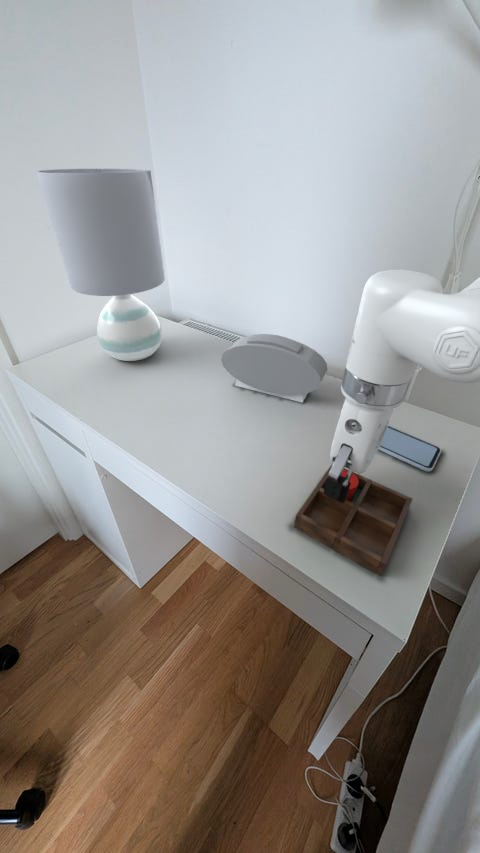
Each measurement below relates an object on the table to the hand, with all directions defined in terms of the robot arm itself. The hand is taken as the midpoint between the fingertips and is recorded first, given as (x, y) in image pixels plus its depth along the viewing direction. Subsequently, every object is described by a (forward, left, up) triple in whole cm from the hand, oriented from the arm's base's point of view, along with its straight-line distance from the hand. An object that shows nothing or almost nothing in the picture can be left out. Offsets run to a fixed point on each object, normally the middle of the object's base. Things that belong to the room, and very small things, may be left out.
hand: (345, 478), depth 52 cm
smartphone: (-3, -18, -5) cm, 19 cm away
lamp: (+66, -14, -5) cm, 68 cm away
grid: (-3, +3, -4) cm, 6 cm away
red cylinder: (0, 0, -4) cm, 4 cm away
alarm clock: (+26, -21, -5) cm, 34 cm away
